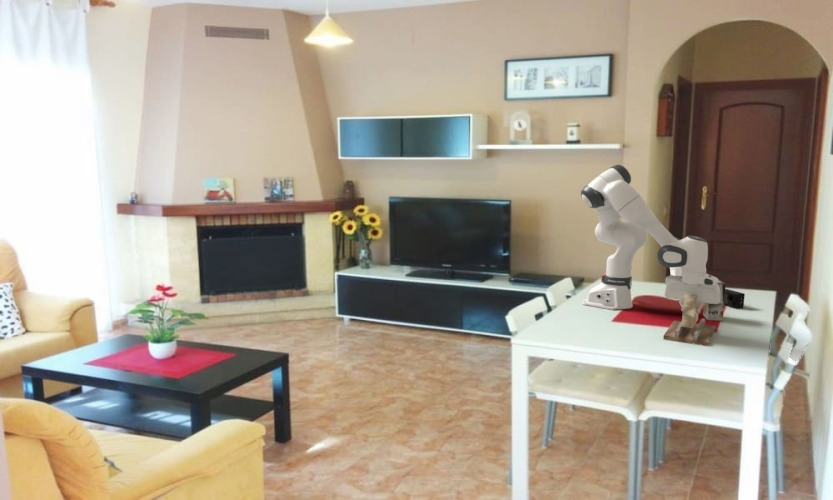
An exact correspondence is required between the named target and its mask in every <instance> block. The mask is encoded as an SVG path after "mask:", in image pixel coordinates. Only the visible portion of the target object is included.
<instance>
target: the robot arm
mask: <svg viewBox="0 0 833 500" xmlns="http://www.w3.org/2000/svg"><path fill="white" fill-rule="evenodd" d="M631 182H632V175H631V174H630V172H629V170H628V169H627V168H626V167H625V166H623V165H621V164H615V165H613V166H611V167H610V168H608V169H607V170H605V171H603V172H602V173H600V174H599V175H597V176H596V177H595V178H594V179H593V180H592V181H590V183H588V184H586V185H585V186H584V187H583V188H582V189H581V191H580V197H581V199H582V201H583V202H584V204H585V205H586V206H588V208H591V209H594V211H595V213H596V216H597V218H598V221H599V222H598V223H597V225H596V227H595V229H594V235H595V238H596V240H597V241H599V242H600V243H603V244H606V245H610V246H616V250H615V252H614V253H612V254H610V255H609V256H608V257H607V259H606V267H605V268H606V269H605V273H603V274H602V275H601V277H600V280H601V282H599V283H598V284H596V285H595V286H593V287H592V288H590V290H589V291H588V295H587V297H586V298H584V299H583V300H582V305H585V306H589V307H595V308H601V309H605V310H610V311H611V310H612V311H616V310H627V309H632V308H633V307H634V304H633V301H632V292H631V289H632V286H633V285H632V284H633V276H632V265H633V261H634V256H635V255H636V253H637V251H639V250H640V249H641V248H642V247H644V246H645V245H646V243H647V242H648V238H649V237H648V236H649V235H650V236H651V237H652V238H653V239H654V240H655V241H656V242H657V243H658V245H660V248H659V249H658V251H657V255H656V256H657V261H658V262H659V264H660V265H661V266H663V267H664V268H665V267H666V268H669V269H670V268H673V267H682V276H673V275H671V274H669V275H668V276H666V277H665V280H664V283H665V289H664V297H665V299H671V300H678V303H679V305H680V307H681V309H680V310H681V312H683V302H684V296H685V294H693V295H697V302H699V308H696V313H698V314H701V309H703V308H704V303H711V304H718V303H719V302H720V287H719V286H718V285H717V283H718V280H719V278H718V277H716V276H713V275H711V274H709V273H707V268H706V265H707V262H708V255H709V253H708V252H709V247H708V242H707V240H706V239H705V238H702V237H701V236H696V235H687V236H686V237H684V238H682V239H680V238H678V237H676V236H674V235H673V233H671V232H670V231H669V230H668V229H667V227H666V226H665V225H664V224H663V223H662V222H661V221H660V219H658V217H657V216H656V215H655V213H654V212H653V211H652V209H651V208H650V206H649V205H648V204H647V202H646V201H645V200H644V198H643V197H642V196H641V195H640V193H638V191H636V189H635V188H633V187H632V185H631ZM620 219H623V220H624V221H625V222H623V221H621V220H620Z"/></svg>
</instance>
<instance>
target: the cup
mask: <svg viewBox="0 0 833 500" xmlns="http://www.w3.org/2000/svg"><path fill="white" fill-rule="evenodd" d="M669 271H670V275H673V276H682V267H673V268H669Z"/></svg>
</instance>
